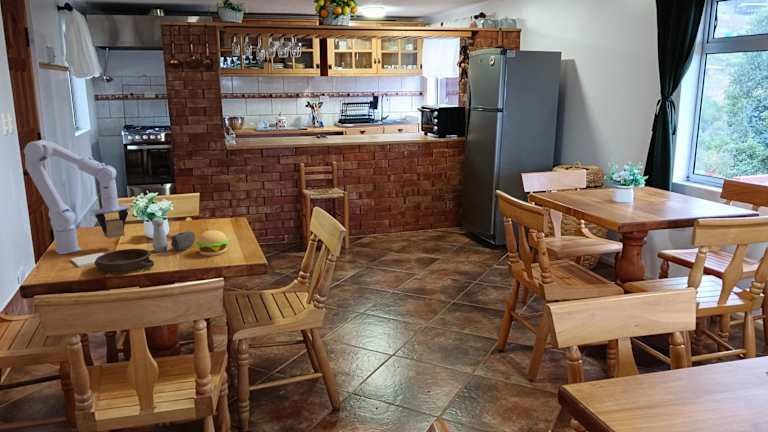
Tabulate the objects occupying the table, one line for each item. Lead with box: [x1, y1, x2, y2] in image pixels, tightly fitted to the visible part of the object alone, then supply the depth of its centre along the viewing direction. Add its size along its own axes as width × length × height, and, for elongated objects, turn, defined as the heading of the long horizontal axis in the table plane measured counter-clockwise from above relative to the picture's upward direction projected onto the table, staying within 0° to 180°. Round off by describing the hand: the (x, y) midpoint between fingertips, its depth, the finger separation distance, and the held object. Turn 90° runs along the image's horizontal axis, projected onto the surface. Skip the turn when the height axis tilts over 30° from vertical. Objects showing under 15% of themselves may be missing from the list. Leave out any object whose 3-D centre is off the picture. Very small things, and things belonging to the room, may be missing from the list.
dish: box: [94, 248, 155, 274], centre depth 206 cm, size 18×22×5 cm
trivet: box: [70, 252, 105, 268], centre depth 215 cm, size 11×11×1 cm
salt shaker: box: [151, 217, 169, 253], centre depth 225 cm, size 6×6×13 cm
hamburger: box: [196, 229, 230, 257], centre depth 222 cm, size 12×12×9 cm
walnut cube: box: [103, 217, 126, 239], centre depth 229 cm, size 6×6×6 cm
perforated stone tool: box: [170, 231, 196, 253], centre depth 228 cm, size 15×5×7 cm, turn 166°
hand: (113, 230), depth 229 cm, fingers closed on walnut cube, 6 cm apart
